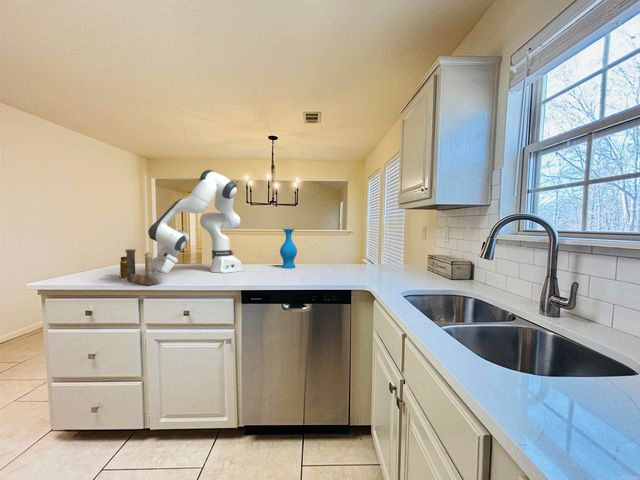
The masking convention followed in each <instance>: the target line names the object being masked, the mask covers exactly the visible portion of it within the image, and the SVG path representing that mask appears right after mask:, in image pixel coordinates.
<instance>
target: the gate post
mask: <svg viewBox="0 0 640 480" xmlns="http://www.w3.org/2000/svg"><path fill="white" fill-rule="evenodd" d="M125 253H126V256H127V278H126V280H127V282H130V281H129V279H128V257H133V272H134V273H135V274H136V248H133V249H125Z"/></svg>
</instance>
